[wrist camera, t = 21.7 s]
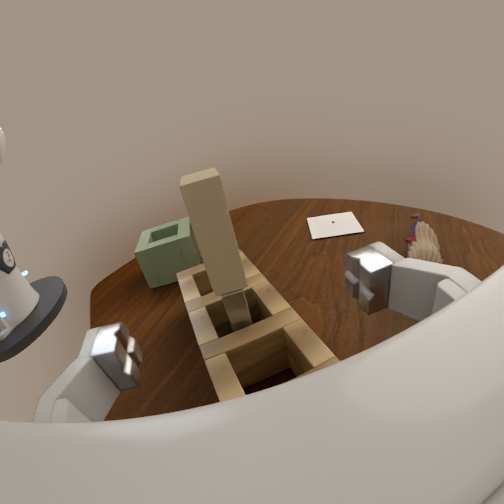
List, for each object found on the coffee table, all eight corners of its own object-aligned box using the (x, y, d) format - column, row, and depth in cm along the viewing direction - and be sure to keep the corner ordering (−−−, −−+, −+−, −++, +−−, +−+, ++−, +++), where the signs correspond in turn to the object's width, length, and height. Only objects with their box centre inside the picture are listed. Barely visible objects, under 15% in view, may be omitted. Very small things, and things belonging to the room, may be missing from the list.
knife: (241, 368, 23) (179, 186, 15) (234, 340, 26) (180, 176, 18) (268, 360, 23) (219, 175, 15) (258, 333, 26) (214, 166, 18)
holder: (150, 289, 37) (133, 252, 35) (154, 263, 44) (142, 231, 42) (202, 273, 38) (189, 235, 35) (199, 249, 45) (189, 216, 42)
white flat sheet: (351, 211, 46) (350, 207, 45) (364, 231, 39) (364, 226, 38) (306, 218, 47) (306, 214, 47) (312, 239, 40) (311, 234, 40)
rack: (346, 408, 17) (350, 371, 14) (250, 456, 15) (231, 430, 13) (249, 284, 34) (239, 249, 31) (190, 308, 32) (176, 273, 29)
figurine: (401, 208, 36) (394, 256, 25) (425, 197, 33) (432, 241, 22) (417, 242, 36) (414, 301, 25) (441, 232, 34) (449, 289, 23)
